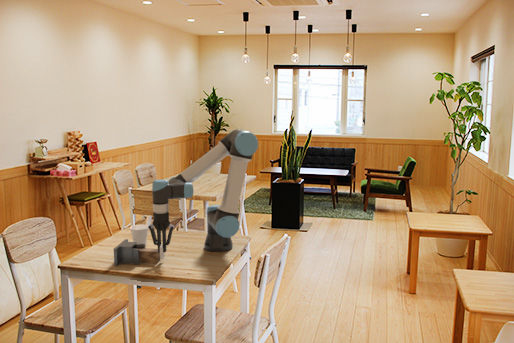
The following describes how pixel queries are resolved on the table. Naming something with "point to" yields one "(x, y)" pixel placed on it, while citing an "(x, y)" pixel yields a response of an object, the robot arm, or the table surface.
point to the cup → (139, 233)
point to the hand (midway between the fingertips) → (162, 258)
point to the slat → (149, 255)
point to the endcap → (127, 253)
